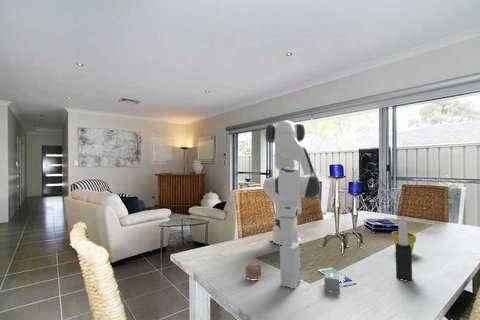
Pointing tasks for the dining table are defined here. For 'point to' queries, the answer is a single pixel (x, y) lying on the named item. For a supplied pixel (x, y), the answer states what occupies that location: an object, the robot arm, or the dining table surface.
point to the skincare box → (290, 264)
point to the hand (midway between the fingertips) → (290, 243)
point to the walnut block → (253, 271)
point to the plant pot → (410, 237)
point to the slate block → (331, 282)
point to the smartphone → (331, 270)
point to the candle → (403, 254)
